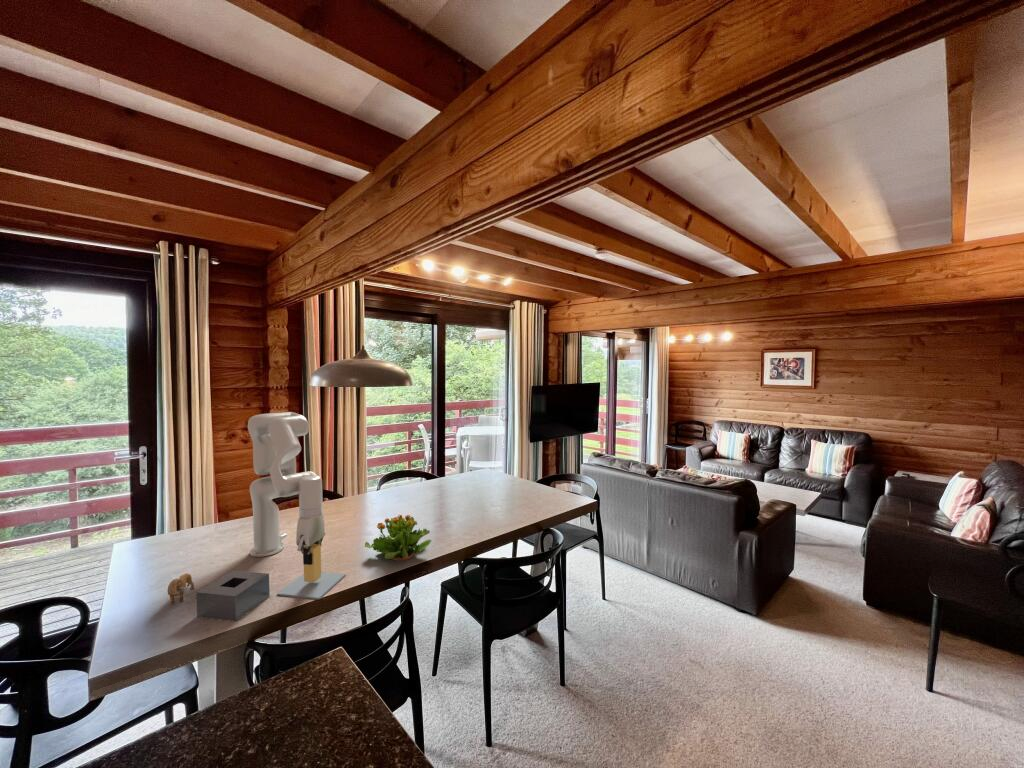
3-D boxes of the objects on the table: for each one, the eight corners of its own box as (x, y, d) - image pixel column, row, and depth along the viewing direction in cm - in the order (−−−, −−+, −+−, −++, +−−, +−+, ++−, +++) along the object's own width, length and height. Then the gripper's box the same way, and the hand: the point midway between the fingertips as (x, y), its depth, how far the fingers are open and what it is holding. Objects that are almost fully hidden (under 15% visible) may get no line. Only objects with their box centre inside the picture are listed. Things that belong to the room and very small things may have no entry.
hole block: (233, 592, 143) (233, 570, 143) (269, 596, 141) (269, 573, 140) (197, 617, 129) (196, 592, 129) (236, 621, 127) (235, 596, 127)
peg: (311, 575, 150) (310, 543, 150) (321, 576, 150) (320, 544, 149) (304, 581, 146) (303, 548, 146) (314, 582, 146) (313, 549, 145)
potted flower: (411, 538, 188) (411, 500, 187) (446, 553, 173) (445, 512, 172) (361, 558, 169) (360, 516, 168) (395, 576, 154) (394, 531, 153)
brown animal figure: (185, 606, 135) (184, 580, 134) (165, 611, 132) (164, 584, 132) (196, 585, 148) (195, 561, 148) (177, 589, 146) (176, 564, 145)
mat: (307, 572, 157) (307, 570, 157) (345, 575, 155) (345, 574, 155) (276, 595, 141) (276, 593, 141) (319, 599, 139) (319, 597, 139)
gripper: (316, 502, 156) (317, 550, 157) (285, 519, 139) (286, 571, 140) (334, 503, 155) (335, 551, 155) (305, 520, 138) (306, 573, 139)
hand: (312, 560), depth 148 cm, fingers closed on peg, 4 cm apart
